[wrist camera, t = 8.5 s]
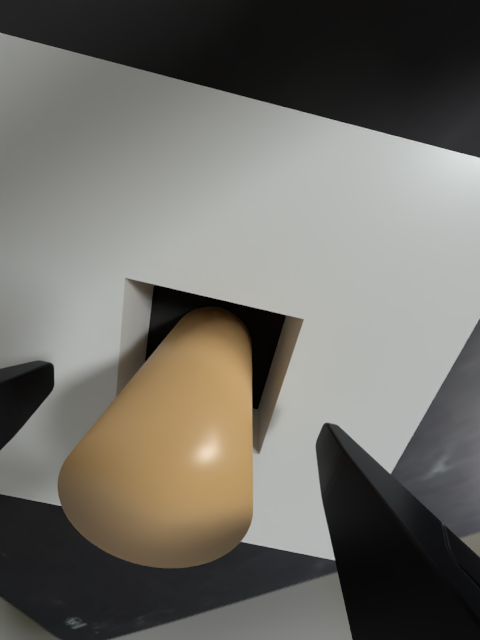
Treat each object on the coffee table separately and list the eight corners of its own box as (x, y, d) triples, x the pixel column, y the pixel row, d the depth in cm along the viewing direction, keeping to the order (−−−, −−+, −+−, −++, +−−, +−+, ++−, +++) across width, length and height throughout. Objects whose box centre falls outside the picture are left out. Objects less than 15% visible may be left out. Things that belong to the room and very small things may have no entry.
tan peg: (260, 316, 12) (276, 453, 5) (241, 386, 13) (230, 581, 6) (178, 297, 12) (56, 406, 4) (167, 370, 13) (58, 548, 6)
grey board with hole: (472, 194, 10) (559, 178, 7) (291, 570, 18) (299, 632, 15) (22, 79, 10) (-76, 12, 7) (41, 521, 18) (1, 577, 15)
